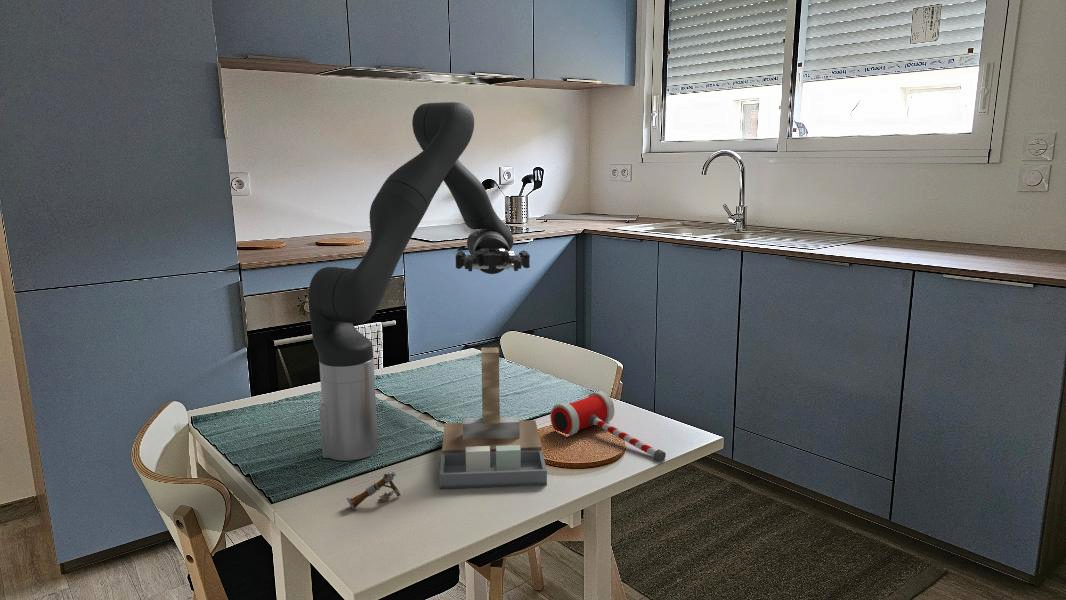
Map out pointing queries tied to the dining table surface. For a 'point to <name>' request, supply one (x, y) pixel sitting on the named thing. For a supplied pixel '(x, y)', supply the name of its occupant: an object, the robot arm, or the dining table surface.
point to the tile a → (477, 458)
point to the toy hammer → (594, 420)
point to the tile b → (508, 458)
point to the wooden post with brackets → (373, 488)
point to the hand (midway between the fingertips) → (493, 265)
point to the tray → (492, 472)
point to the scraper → (490, 405)
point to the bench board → (457, 445)
